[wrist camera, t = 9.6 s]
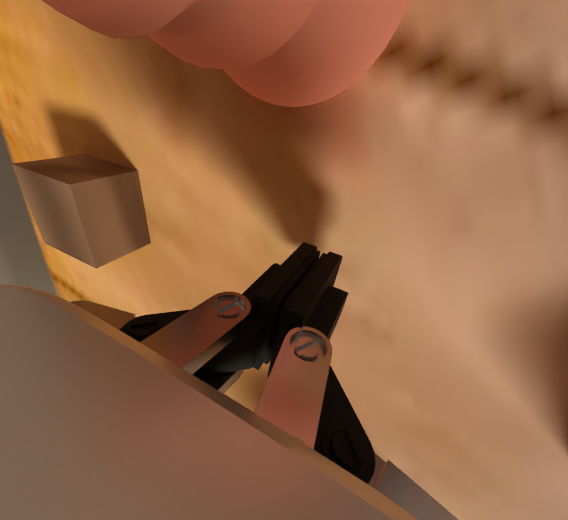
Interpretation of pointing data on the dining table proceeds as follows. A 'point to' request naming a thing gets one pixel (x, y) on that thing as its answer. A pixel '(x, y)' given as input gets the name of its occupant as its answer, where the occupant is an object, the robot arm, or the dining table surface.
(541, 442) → the dining table surface
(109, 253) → the metal block
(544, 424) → the dining table surface
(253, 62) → the pottery
